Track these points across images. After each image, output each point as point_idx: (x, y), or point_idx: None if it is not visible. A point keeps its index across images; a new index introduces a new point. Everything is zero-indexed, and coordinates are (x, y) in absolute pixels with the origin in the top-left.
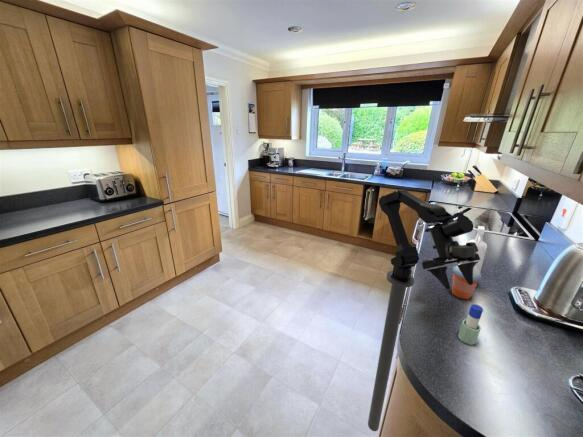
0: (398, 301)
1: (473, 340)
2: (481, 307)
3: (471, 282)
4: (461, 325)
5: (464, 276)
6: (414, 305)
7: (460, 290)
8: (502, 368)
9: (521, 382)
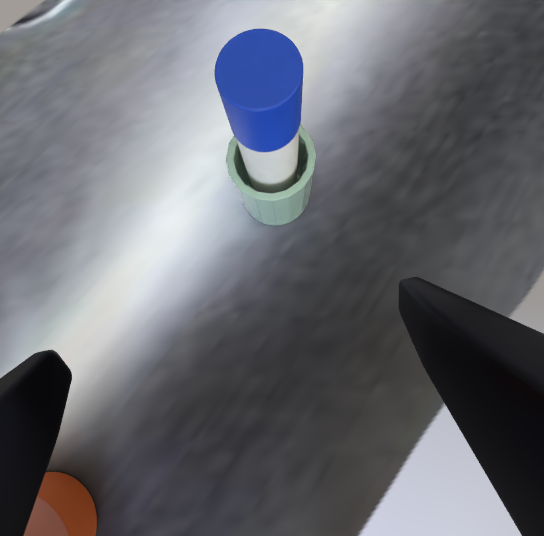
0: None
1: None
2: (220, 64)
3: (35, 365)
4: (308, 186)
5: (23, 508)
6: (404, 442)
7: (56, 521)
8: None
9: (227, 6)
